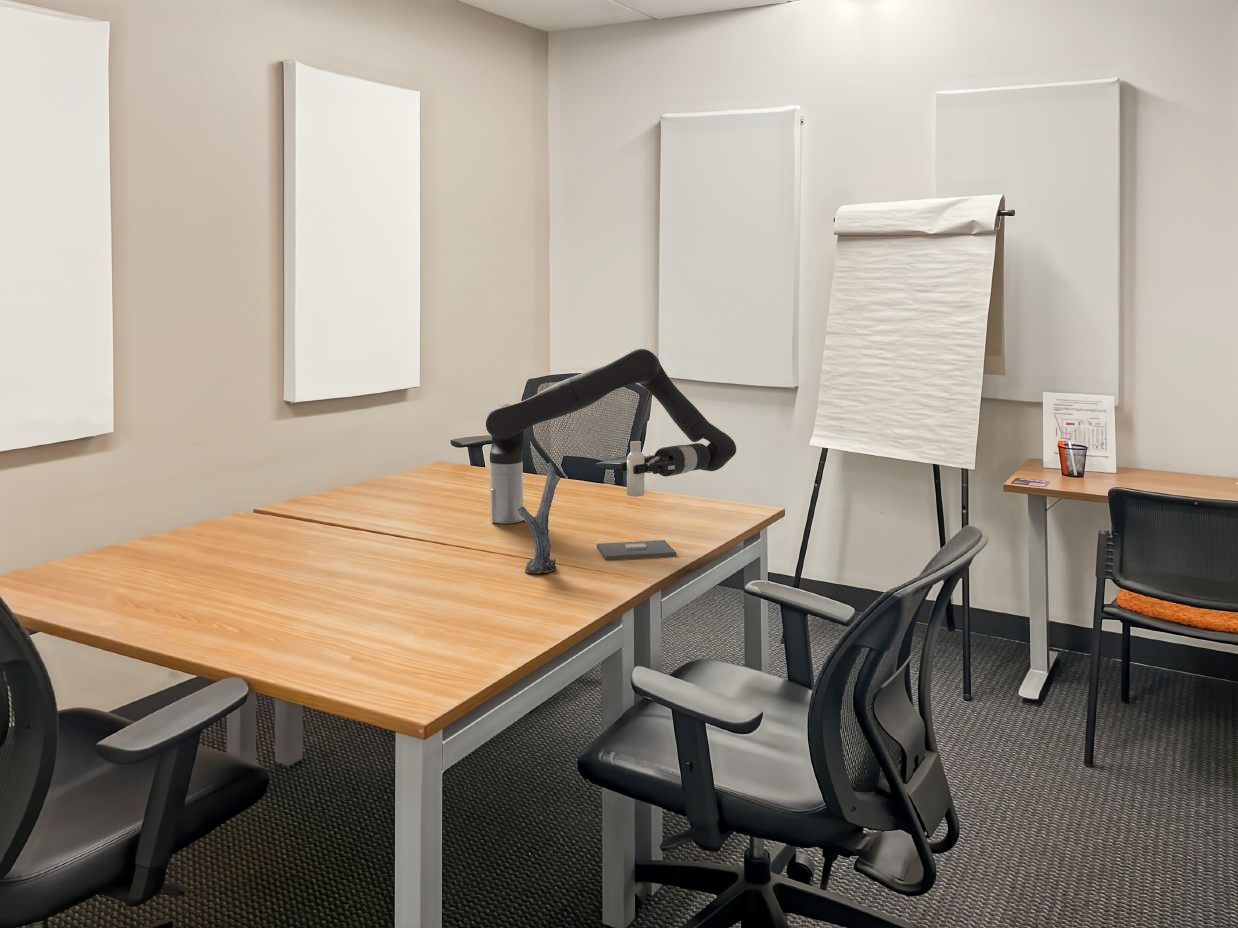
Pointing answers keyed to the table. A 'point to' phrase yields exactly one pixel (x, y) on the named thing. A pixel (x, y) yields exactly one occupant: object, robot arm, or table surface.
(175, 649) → the table surface
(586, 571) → the table surface
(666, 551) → the dock mat
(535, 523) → the bare tree trunk
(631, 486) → the white tabbed cylinder
